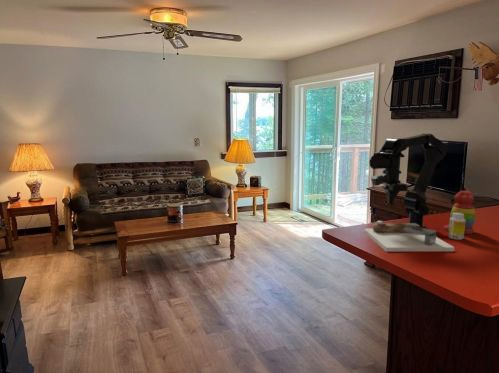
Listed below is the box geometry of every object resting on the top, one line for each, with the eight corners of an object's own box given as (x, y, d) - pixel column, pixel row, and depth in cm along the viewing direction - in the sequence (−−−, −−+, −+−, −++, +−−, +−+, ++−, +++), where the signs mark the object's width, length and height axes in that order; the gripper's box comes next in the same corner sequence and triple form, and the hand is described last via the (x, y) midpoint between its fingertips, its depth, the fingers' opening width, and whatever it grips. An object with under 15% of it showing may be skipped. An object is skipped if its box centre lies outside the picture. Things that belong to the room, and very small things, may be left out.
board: (363, 231, 157) (364, 218, 156) (421, 231, 158) (422, 218, 157) (386, 251, 133) (387, 236, 132) (454, 251, 133) (455, 235, 132)
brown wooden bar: (375, 232, 150) (376, 226, 149) (371, 228, 155) (371, 222, 154) (420, 232, 150) (420, 226, 150) (414, 228, 155) (415, 222, 155)
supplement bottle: (466, 239, 148) (469, 214, 146) (456, 240, 146) (459, 215, 144) (454, 235, 153) (457, 211, 151) (444, 236, 151) (447, 212, 149)
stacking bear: (460, 226, 166) (464, 188, 163) (480, 233, 156) (485, 192, 153) (441, 228, 163) (445, 189, 160) (460, 235, 153) (465, 193, 150)
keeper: (403, 239, 142) (404, 227, 141) (409, 236, 145) (410, 225, 145) (429, 245, 135) (430, 233, 134) (435, 242, 138) (436, 230, 137)
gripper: (366, 165, 165) (364, 199, 168) (382, 170, 147) (379, 208, 149) (390, 165, 165) (388, 199, 168) (409, 170, 147) (406, 208, 150)
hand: (390, 203), depth 159 cm, fingers closed
